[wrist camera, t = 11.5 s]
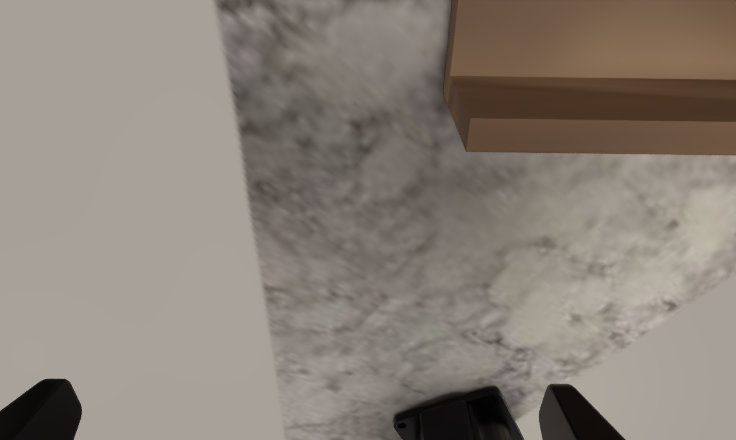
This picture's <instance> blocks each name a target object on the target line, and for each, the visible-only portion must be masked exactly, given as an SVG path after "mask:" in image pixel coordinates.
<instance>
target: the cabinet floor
mask: <svg viewBox="0 0 736 440" xmlns="http://www.w3.org/2000/svg"><path fill="white" fill-rule="evenodd" d="M443 94H444V97H445V99H446V102H447V104H448V107H449V109H450V112H451V115H452V117H453V120H454V122H455V125H456V127H457V130H458V132H459V135H460V137H461V140H462V142H463V145H464V148H465V150H466V152H526V153H600V154H675V155H736V0H452V7H451V17H450V27H449V38H448V48H447V58H446V68H445V78H444V88H443Z"/></svg>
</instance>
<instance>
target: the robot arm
mask: <svg viewBox="0 0 736 440" xmlns="http://www.w3.org/2000/svg"><path fill="white" fill-rule="evenodd" d="M81 415H82V408H81V404H80V402H79V400H78V397H77V395H76V393H75V391H74V389H73V387H72V385H71V383H70V382H69V381H68V380H66V379H45V380H42V381H40V382H39V383H37V384H36V385H34V386H33V387H32V388H30V389H29V390H28V391H26V392H25V393H24V394H22V395H21V396H20V397H18V398H17V399H16V400H14V401H13V402H12V403H10V404H9V405H8V406H6V407H5V408H4V409H2V410H1V411H0V440H74V437H75V434H76V431H77V429H78V425H79V423H80V420H81ZM393 422H394V428H395V430H396V431H397V432H398V434H399V435H400V436H401V438H402V439H403V440H524V438H523V436H522V434H521V432H520V430H519V428H518V426H517V424H516V422H515V420H514V418H513V416H512V414H511V412H510V410H509V408H508V406H507V404H506V402H505V400H504V398H503V396H502V394H501V392H500V391H499V390H498V389H494V388H492V389H487V390H484V391H480V392H477V393H473V394H470V395H466V396H463V397H459V398H456V399H452V400H449V401H445V402H442V403H438V404H435V405H431V406H428V407H424V408H421V409H417V410H414V411H410V412H407V413H403V414H400V415H397V416H395V417H394V420H393ZM539 422H540V428H541V433H542V438H543V440H625V439H624V438H623V437H622V436H621V435H620V434H619V433H618V432H617V430H615V428H614V427H613V426H612V425H611V424H610V423H609V422H608V421H607V420H606V419H605V418H604V417H603V416H602V415H601V414H600V413H599V412H598V411H597V410H596V409H595V408H594V407H593V406H592V405H591V404H590V403H589V402H588V401H587V400H586V399H585V398H584V397H583V396H582V395H581V394H580V393H579V392H578V391H577V389H576V388H574V387H573V386H572V385H569V384H550V385H549V386H548V387H547V389H546V392H545V395H544V398H543V401H542V404H541V407H540V411H539Z"/></svg>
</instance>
